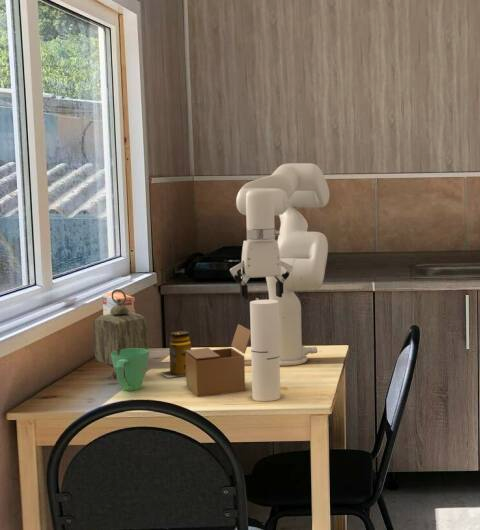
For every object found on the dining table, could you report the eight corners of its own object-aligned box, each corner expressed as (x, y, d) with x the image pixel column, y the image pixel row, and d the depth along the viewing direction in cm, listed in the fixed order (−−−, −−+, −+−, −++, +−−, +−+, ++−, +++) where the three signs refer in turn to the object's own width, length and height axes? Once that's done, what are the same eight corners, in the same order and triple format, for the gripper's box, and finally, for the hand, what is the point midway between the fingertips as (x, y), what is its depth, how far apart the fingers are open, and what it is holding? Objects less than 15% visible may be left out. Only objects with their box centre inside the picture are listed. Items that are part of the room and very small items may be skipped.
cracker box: (138, 365, 266) (135, 296, 264) (117, 368, 263) (115, 298, 260) (123, 357, 278) (121, 291, 275) (104, 359, 274) (101, 293, 272)
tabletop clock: (149, 376, 252) (145, 289, 249) (121, 383, 245) (117, 293, 242) (120, 369, 261) (117, 285, 258) (93, 375, 254) (88, 289, 251)
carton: (232, 381, 246) (231, 345, 245) (245, 390, 236) (244, 353, 235) (186, 386, 240) (185, 350, 239) (197, 396, 230) (196, 358, 229)
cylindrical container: (253, 394, 232) (251, 299, 229) (281, 393, 232) (278, 299, 230) (251, 401, 225) (248, 304, 222) (279, 400, 225) (277, 303, 222)
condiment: (196, 374, 255) (195, 333, 253) (167, 378, 250) (166, 336, 249) (187, 369, 261) (186, 329, 259) (159, 373, 256) (157, 332, 255)
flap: (231, 345, 245) (232, 345, 245) (243, 353, 235) (244, 353, 235) (238, 324, 245) (239, 324, 245) (250, 330, 235) (252, 331, 235)
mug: (118, 384, 244) (117, 348, 243) (154, 383, 244) (153, 347, 243) (101, 398, 229) (100, 360, 228) (140, 397, 229) (138, 359, 228)
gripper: (286, 233, 247) (287, 294, 249) (225, 235, 239) (227, 298, 241) (295, 235, 240) (296, 297, 242) (233, 237, 233) (234, 301, 235)
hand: (262, 297), depth 242 cm, fingers open, 9 cm apart
